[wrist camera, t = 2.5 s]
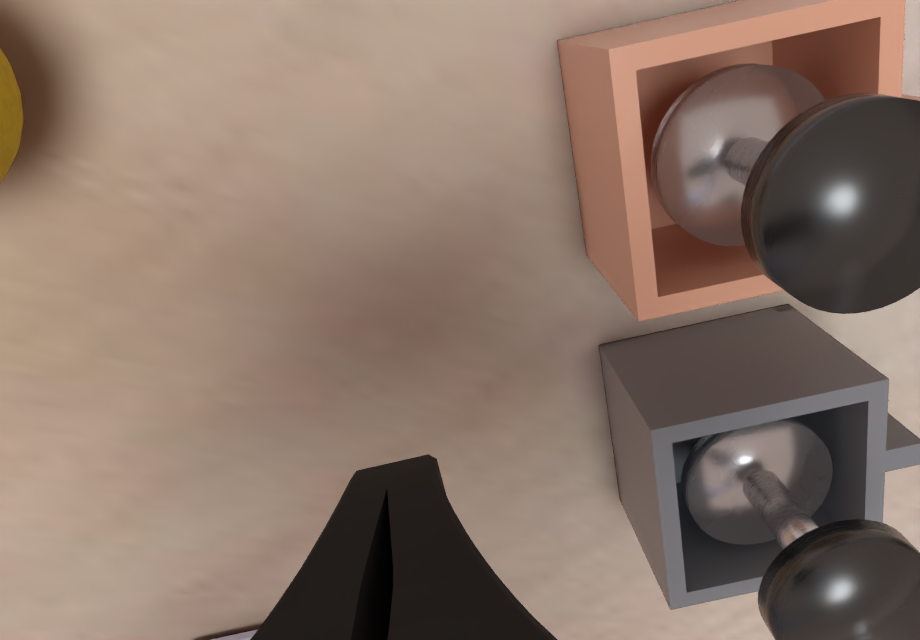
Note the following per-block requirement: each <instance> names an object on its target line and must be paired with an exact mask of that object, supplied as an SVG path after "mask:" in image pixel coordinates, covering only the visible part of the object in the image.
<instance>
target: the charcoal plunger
mask: <svg viewBox="0 0 920 640" xmlns="http://www.w3.org/2000/svg"><path fill="white" fill-rule="evenodd" d="M832 473H833V468H832V460H831V456H830V453H829V451H828V449H827V447H826V445H825V444H824V442H823V441H822V440H821V439H820V438H819V437H818V436H817V435H816V434H815V433H814V432H813V431H812V430H811V429H810V428H809V427H808V426H807V425H806V424H805V423H804V422H802V421H801V420H799V419H798V418H796V417H791V418H786V419H781V420H777V421H772V422H767V423H763V424H758V425H754V426H749V427H744V428H740V429H735V430H730V431H726V432H721V433H717V434H712V435H707V436H703V437H702V438H701V439H700V440H699V441H698V442H697V443H696V445H695V446H694V447H693V448H692V450H691V452H690V453H689V455H688V457H687V459H686V461H685V463H684V466H683V470H682V474H681V493H682V497H683V500H684V502H685V504H686V506H687V508H688V510H689V511H690V513H691V515H692V516H693V518H694V520H695V522H696V523H697V524H698V525H699V527H700V528H701V529H702V530H703V531H704V532H706V533H707V534H708V535H710V536H712V537H713V538H715V539H718V540H720V541H723V542H726V543H731V544H739V545H750V544H759V543H764V542H768V541H772V540H774V539H776V540H777V541H778V543H779V544H780V545H781V547H782V548H783V550H782V551H781V552H780V553H779V554H778V555H777V556H776V558H775V559H774V560H773V561H772V563H771V564H770V565H769V567H768V568H767V570H766V572H765V574H764V576H763V578H762V581H761V584H760V587H759V592H758V605H759V610H760V613H761V616H762V618H763V620H764V622H765V623H766V625H767V627H768V628H769V630H770V632H771V633H772V635H773V637H774V638H775V640H920V552H919V551H918V550H917V549H916V548H915V547H914V546H913V545H912V544H911V543H910V542H909V541H908V540H907V539H906V538H905V537H904V536H903V535H902V534H901V533H900V532H899V531H897V530H896V529H894V528H893V527H891V526H889V525H887V524H884V523H881V522H878V521H872V520H864V519H852V520H843V521H837V522H833V523H830V524H826V525H823V526H821V527H818V526H817V524H816V523H815V522H814V521H813V520H812V518H811V516H812V515H813V514H814V513H815V512H816V511H817V509H818V508H819V507H820V505H821V504H822V502H823V501H824V499H825V497H826V495H827V493H828V490H829V488H830V485H831V480H832Z"/></svg>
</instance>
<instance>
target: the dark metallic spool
mask: <svg viewBox="0 0 920 640" xmlns="http://www.w3.org/2000/svg"><path fill="white" fill-rule="evenodd" d="M651 177H652V183H653V187H654V190H655V194H656V196H657V198H658V200H659V203H660V205H661V206H662V208H663V209H664V211H665V212H666V213H667V214H668V216H669V217H670V218H671V219H672V220H673V221H674V222H676V223H677V224H678V225H679V226H681V227H682V228H683V229H684V230H686V231H687V232H688V233H690V234H691V235H693V236H695V237H697V238H698V239H700V240H703V241H705V242H708V243H712V244H716V245H721V246H743V245H745V246H746V248H747V251H748V253H749V255H750V257H751V259H752V260H753V262H754V264H755V265H756V266H757V268H758V269H759V270H760V271H761V272H762V273H763V274H764V275H765V276H766V277H767V278H769V279H770V280H771V281H772V282H774V283H775V284H776V285H778V286H779V287H781V288H782V289H783V290H785V291H786V292H788V293H789V294H790V295H792V296H793V297H795V298H796V299H797V300H799V301H801V302H803V303H804V304H806V305H808V306H810V307H813V308H815V309H818V310H822V311H826V312H831V313H841V314H846V313H860V312H866V311H871V310H875V309H878V308H882V307H884V306H887V305H889V304H892V303H895V302H897V301H898V300H900V299H902V298H904V297H906V296H908V295H910V294H911V293H913V292H914V291H916V290H917V289H919V288H920V101H918V100H912V99H907V98H901V97H895V96H889V95H883V94H876V93H852V94H845V95H840V96H837V97H833V98H830V99H827V100H825V99H824V97H823V96H822V94H821V93H820V92H819V90H818V89H817V88H816V87H815V86H814V85H813V84H812V83H811V82H810V81H809V80H807V79H806V78H804V77H803V76H801V75H800V74H798V73H796V72H794V71H791V70H789V69H785V68H782V67H778V66H771V65H764V64H757V63H743V64H736V65H730V66H727V67H724V68H720V69H718V70H716V71H713V72H711V73H709V74H707V75H705V76H704V77H702V78H700V79H698V80H697V81H696V82H694V83H693V84H692V85H691V86H689V87H688V88H687V89H686V90H685V91H684V92H683V93H682V94H681V95H680V96H679V97H678V98H677V99H676V100H675V102H674V103H673V104H672V105H671V107H670V108H669V110H668V111H667V113H666V114H665V116H664V118H663V120H662V122H661V124H660V126H659V128H658V130H657V133H656V136H655V139H654V143H653V148H652V153H651Z"/></svg>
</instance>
